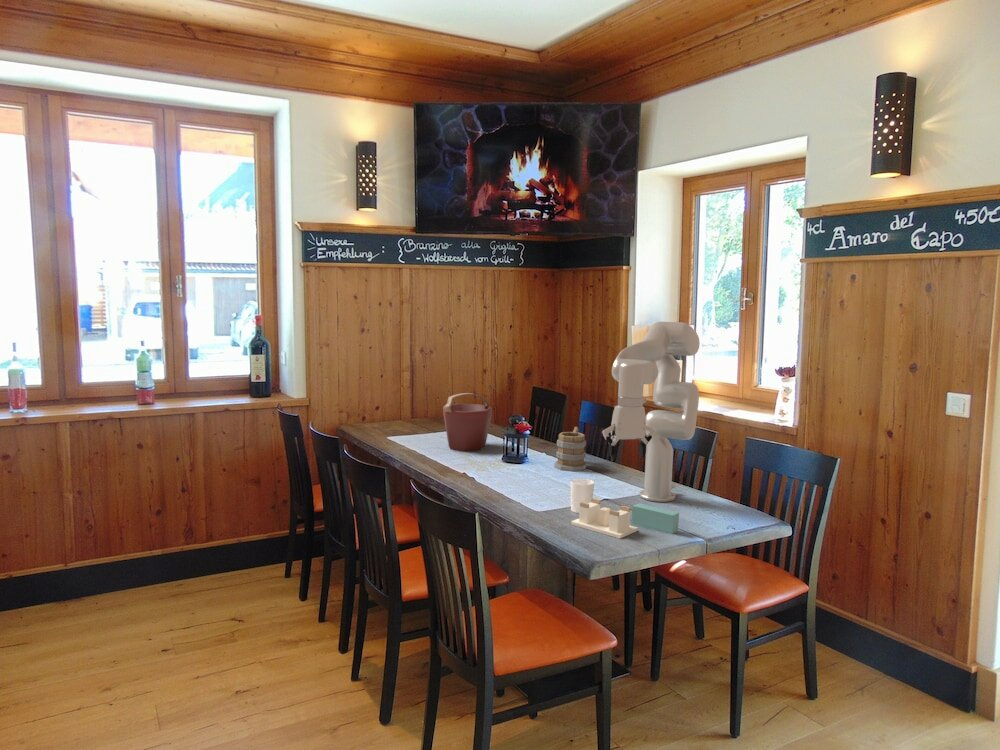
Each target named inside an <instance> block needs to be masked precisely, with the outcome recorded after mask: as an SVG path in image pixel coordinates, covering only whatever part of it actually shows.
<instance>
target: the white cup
mask: <svg viewBox="0 0 1000 750" xmlns="http://www.w3.org/2000/svg"><path fill="white" fill-rule="evenodd" d="M569 487H570V511H571V512H573V513H575V514H579V513H580V502H583V503H587V504H588V503H590V502H591V499H592V498H594V490H595V489H594V488H595V481H594V480H591V479H587V478H574V479H571V480H570V486H569Z"/></svg>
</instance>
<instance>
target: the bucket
mask: <svg viewBox="0 0 1000 750" xmlns="http://www.w3.org/2000/svg"><path fill="white" fill-rule="evenodd" d="M463 396H474V397H477V398H478V399H480V400H482V401H483V402H484V403H485V405H484V404H481V403H480V404H479V403H454V399H457V398H460V397H463ZM442 413H443V414H442V415H443V420H444V425H445V426H444V427H445V432H446V438H447V444H448V447H449V449H450V450H452V451H457V452H468V453H469V452H478V451H479V452H481V451H482V450H483V449H485V447H486V444H487V440H488V434H489V430H490V426H491V422H492V415H493V407H491V403H490V401H488V399H487V398H485V397H483V396H482V395H479V394H476V393H470V392H464V393H462V392H461V393H457V394H453V395H450V396H448V397H447V403H445V405H443V407H442Z"/></svg>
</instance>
